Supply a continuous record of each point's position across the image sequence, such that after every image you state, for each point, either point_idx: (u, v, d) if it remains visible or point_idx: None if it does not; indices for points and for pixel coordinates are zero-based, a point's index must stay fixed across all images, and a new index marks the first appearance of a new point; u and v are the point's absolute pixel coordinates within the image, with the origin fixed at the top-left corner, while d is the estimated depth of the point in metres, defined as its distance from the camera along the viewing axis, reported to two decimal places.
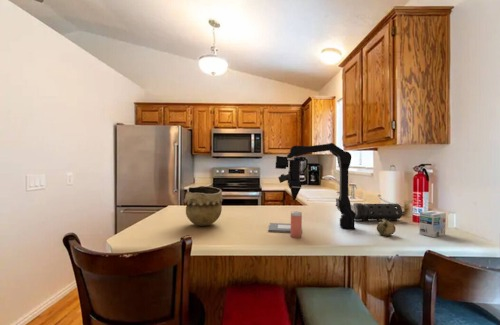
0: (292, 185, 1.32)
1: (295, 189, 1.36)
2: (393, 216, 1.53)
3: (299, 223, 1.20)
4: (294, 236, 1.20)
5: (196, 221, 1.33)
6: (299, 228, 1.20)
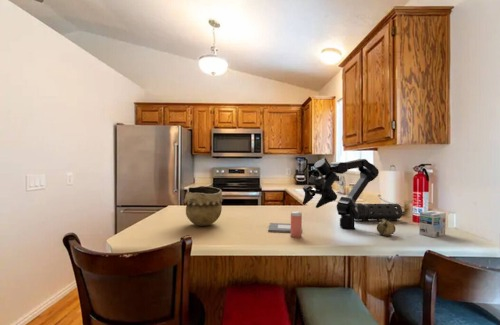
0: (331, 193, 1.20)
1: (325, 199, 1.23)
2: (393, 216, 1.53)
3: (299, 223, 1.20)
4: (294, 236, 1.20)
5: (196, 221, 1.33)
6: (299, 228, 1.20)
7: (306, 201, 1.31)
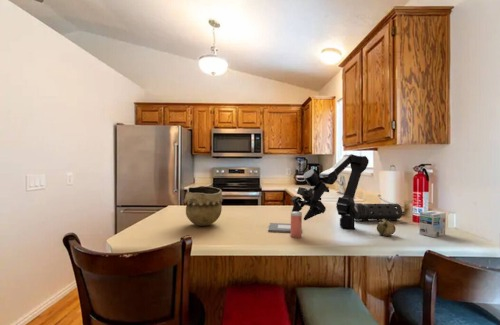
0: (319, 206, 1.17)
1: (313, 211, 1.20)
2: (393, 216, 1.53)
3: (299, 223, 1.20)
4: (294, 236, 1.20)
5: (196, 221, 1.33)
6: (299, 228, 1.20)
7: None
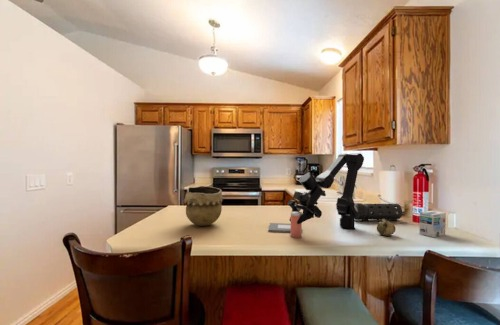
0: (315, 210, 1.16)
1: (306, 215, 1.20)
2: (393, 216, 1.53)
3: None
4: (294, 236, 1.20)
5: (196, 221, 1.33)
6: (299, 228, 1.20)
7: None
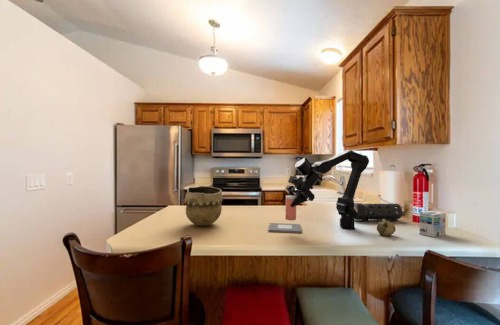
0: (307, 193, 1.19)
1: (300, 198, 1.24)
2: (393, 216, 1.53)
3: None
4: (288, 218, 1.25)
5: (196, 221, 1.33)
6: (293, 211, 1.25)
7: None
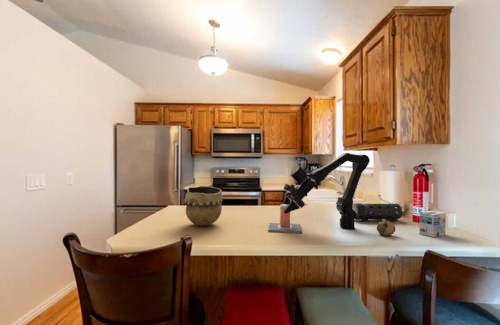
0: (296, 201, 1.26)
1: (293, 205, 1.30)
2: (393, 216, 1.53)
3: (286, 214, 1.33)
4: (281, 226, 1.34)
5: (196, 221, 1.33)
6: (286, 219, 1.33)
7: None
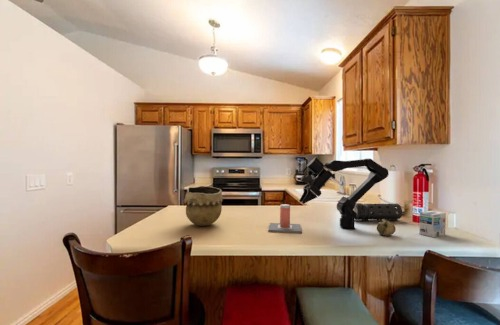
0: (312, 189, 1.28)
1: (311, 195, 1.32)
2: (393, 216, 1.53)
3: (286, 214, 1.33)
4: (281, 226, 1.34)
5: (196, 221, 1.33)
6: (286, 219, 1.33)
7: (303, 199, 1.42)
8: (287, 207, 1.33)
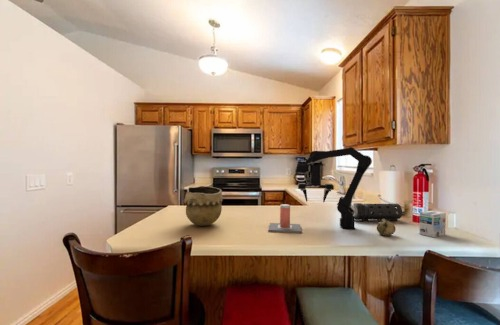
0: None
1: None
2: (393, 216, 1.53)
3: (286, 214, 1.33)
4: (281, 226, 1.34)
5: (196, 221, 1.33)
6: (286, 219, 1.33)
7: (323, 198, 1.46)
8: (287, 207, 1.33)
